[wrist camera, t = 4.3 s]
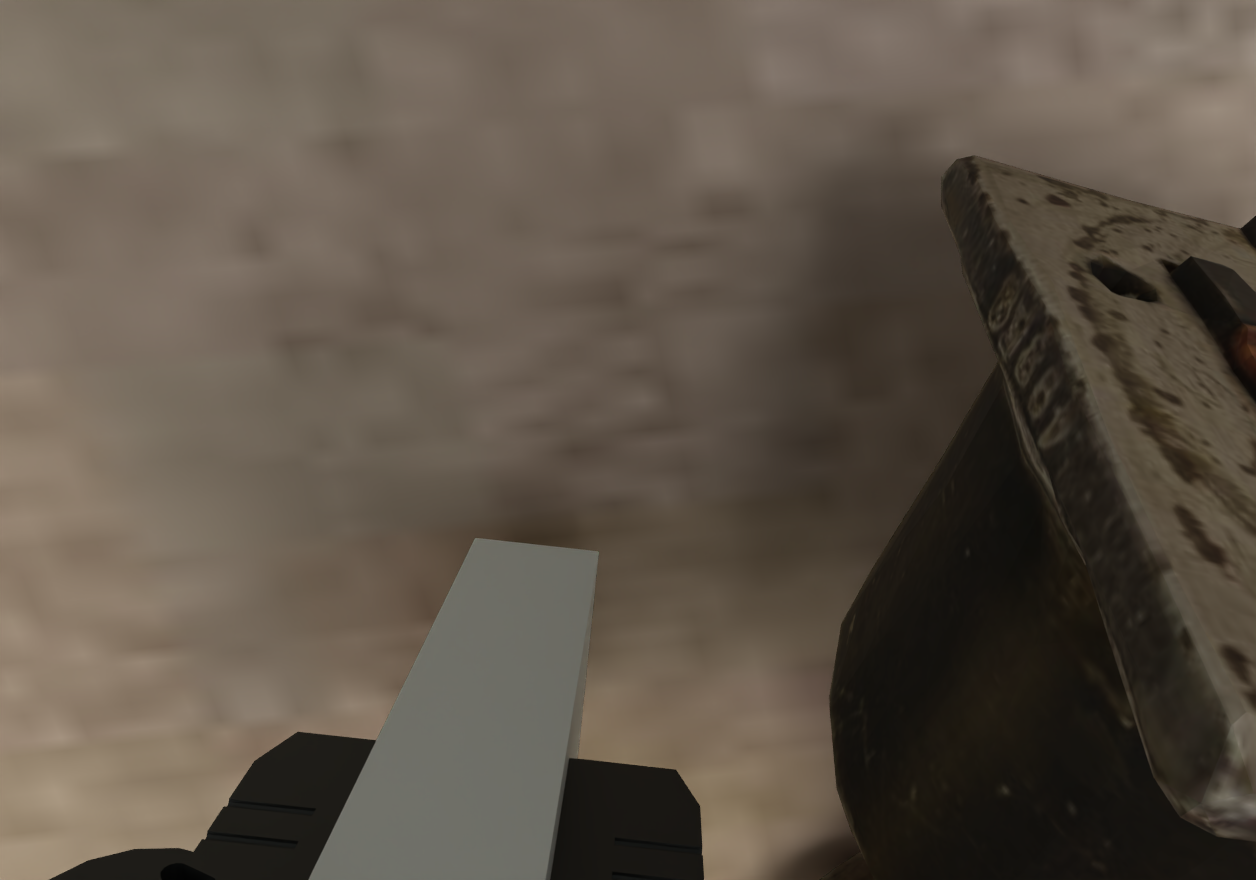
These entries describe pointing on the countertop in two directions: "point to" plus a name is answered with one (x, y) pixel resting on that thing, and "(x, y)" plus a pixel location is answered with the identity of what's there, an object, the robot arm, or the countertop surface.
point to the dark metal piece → (1070, 565)
